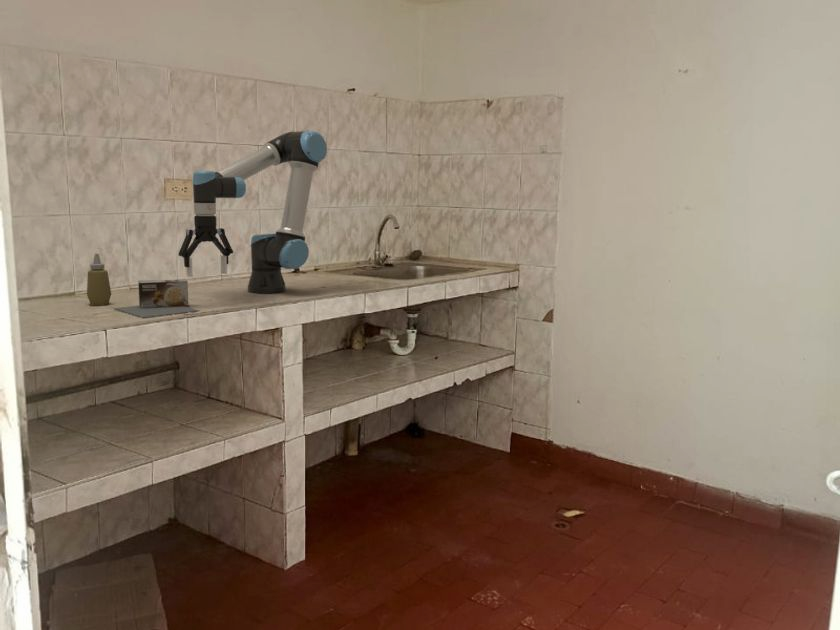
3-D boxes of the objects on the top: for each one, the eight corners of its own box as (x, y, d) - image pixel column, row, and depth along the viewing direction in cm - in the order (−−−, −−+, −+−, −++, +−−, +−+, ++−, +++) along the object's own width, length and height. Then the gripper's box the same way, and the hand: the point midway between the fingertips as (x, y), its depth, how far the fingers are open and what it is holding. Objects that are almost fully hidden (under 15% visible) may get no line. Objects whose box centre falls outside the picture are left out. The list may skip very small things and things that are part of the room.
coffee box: (185, 278, 266) (138, 279, 260) (188, 280, 260) (139, 282, 254) (186, 303, 268) (138, 305, 261) (188, 306, 262) (140, 308, 255)
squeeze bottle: (90, 307, 259) (87, 255, 256) (85, 303, 265) (81, 253, 262) (114, 305, 264) (111, 254, 260) (108, 301, 270) (105, 252, 267)
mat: (168, 303, 269) (168, 302, 269) (199, 311, 254) (199, 310, 254) (113, 309, 255) (113, 308, 255) (143, 318, 240) (143, 317, 240)
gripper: (177, 216, 251) (179, 278, 255) (241, 214, 269) (243, 273, 272) (166, 215, 256) (169, 276, 260) (230, 214, 274) (232, 271, 278)
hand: (207, 275), depth 266 cm, fingers open, 13 cm apart
